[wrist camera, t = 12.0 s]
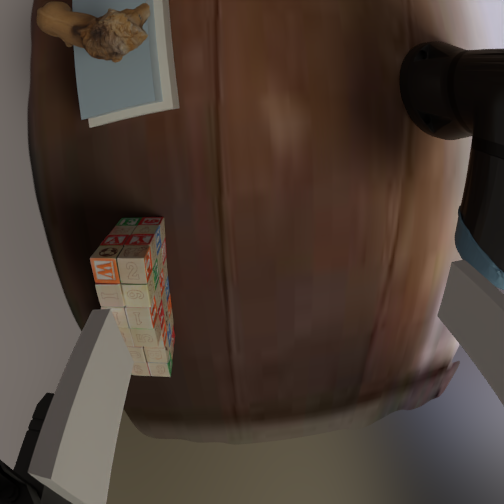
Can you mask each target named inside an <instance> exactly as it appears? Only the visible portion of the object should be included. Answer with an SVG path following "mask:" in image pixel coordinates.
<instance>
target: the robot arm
mask: <svg viewBox="0 0 504 504" xmlns="http://www.w3.org/2000/svg"><path fill="white" fill-rule="evenodd" d="M400 90H401V95H402V99H403V102H404V105H405V108H406V110H407V112H408V114H409V115H410V117H411V119H412V120H413V121H414V123H415V124H416V125H417V126H418V127H419V128H420V129H421V130H423V131H424V132H425V133H427V134H429V135H431V136H434V137H437V138H441V139H445V140H456V139H460V138H465V137H469V136H472V145H471V151H470V158H469V165H468V171H467V177H466V183H465V188H464V193H463V198H462V203H461V206H459V209H458V222H457V227H456V232H455V245H456V248H457V250H458V252H459V254H460V256H461V258H462V259H463V260H460V261H455V262H452V263H451V267H450V272H449V276H448V280H447V284H446V288H445V291H444V295H443V299H442V302H441V306H440V309H439V312H438V317H439V318H440V320H441V321H442V322H443V323H444V325H445V326H446V327H447V328H448V330H449V331H450V332H451V333H452V335H453V336H454V337H455V338H456V340H457V341H458V342H459V344H460V345H461V346H462V347H463V349H464V350H465V351H466V353H467V354H468V355H469V357H470V358H471V359H472V361H473V362H474V363H475V364H476V366H477V368H478V369H479V370H480V372H481V373H482V375H483V376H484V377H485V379H486V380H487V382H488V383H489V384H490V386H491V387H492V389H493V390H494V392H495V393H496V395H497V396H498V398H499V399H500V401H501V402H502V404H503V405H504V294H503V293H502V292H501V291H499V290H498V289H497V288H500V289H502V290H504V49H481V50H464V49H462V48H459V47H456V46H453V45H450V44H447V43H444V42H427V43H422V44H419V45H417V46H415V47H414V48H413V49H411V50H410V51H409V53H408V54H407V55H406V57H405V59H404V61H403V63H402V67H401V72H400ZM496 287H497V288H496ZM133 364H134V361H133V359H132V357H131V355H130V353H129V350H128V348H127V346H126V344H125V342H124V339H123V337H122V335H121V333H120V330H119V328H118V326H117V323H116V321H115V318H114V316H113V314H112V311H111V309H99V310H92V312H91V314H90V316H89V318H88V320H87V322H86V324H85V326H84V328H83V330H82V332H81V334H80V337H79V339H78V341H77V343H76V345H75V347H74V350H73V352H72V354H71V356H70V359H69V361H68V363H67V365H66V368H65V370H64V372H63V374H62V377H61V379H60V382H59V384H58V386H57V389H56V391H55V394H53V393H46V395H45V396H44V397H43V398H42V399H41V401H40V402H39V403H38V404H37V406H36V409H35V412H34V414H33V417H32V418H33V420H31V422H30V424H29V427H28V428H29V430H28V431H27V432H26V435H25V438H24V441H23V444H22V447H21V450H20V453H19V456H18V459H17V462H16V465H15V467H14V470H12V469H11V468H10V467H8V466H7V465H6V464H5V463H3V462H2V461H1V460H0V504H106V501H107V494H108V487H109V481H110V474H111V468H112V462H113V456H114V451H115V446H116V440H117V435H118V430H119V425H120V420H121V416H122V411H123V407H124V402H125V398H126V393H127V389H128V385H129V381H130V376H131V372H132V368H133Z"/></svg>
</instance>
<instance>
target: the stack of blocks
mask: <svg viewBox="0 0 504 504" xmlns="http://www.w3.org/2000/svg"><path fill="white" fill-rule="evenodd" d="M90 262H91V266H92V271H93V276H94V280H95V283H96V284H95V288H96V292H97V295H98V299H99V302H100V305H101V309H111V311H112V314H113V316H114V318H115V321H116V323H117V326H118V328H119V330H120V333H121V335H122V337H123V339H124V342H125V344H126V346H127V348H128V350H129V353H130V355H131V357H132V359H133V361H134V364H133V368H132V372H131V374H132V375H141V376H164V377H170V376H171V370H172V357H173V347H174V340H175V334H174V327H173V315H172V307H171V298H170V293H169V283H168V276H167V263H166V244H165V226H164V217H143V218H121V220H120V221H119V222H118V223H117V224H116V226H115V227H114V229H113V230H112V231H111V232H110V233H109V235H108V236H106V238H105V239H104V240H103V241H102V243H101V244H100V246H99V247H98V249H97V250H96V251H95V252H94V254H93V255H92V256H91V257H90Z"/></svg>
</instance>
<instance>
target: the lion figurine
mask: <svg viewBox="0 0 504 504" xmlns="http://www.w3.org/2000/svg"><path fill="white" fill-rule="evenodd" d="M37 15H38V16H37V25H38V26H39V28H40V29H41V30H42V31H43V32H45V33H47V34H49V35H51V36H54V37H59V38H61V39H62V40H63V41H64V42H65V44H66V46H67V47H71V46H73V45H75V46H77V47H80V48H84V49H85V50H86V51H87V53H88V54H89V55H90V56H91V57H93V58H96V59H103V60H107V61H108V60H112V61H113V62H115V63H116V62H119V61H121V60H122V58H123V56H124V55H126V54H128V53H129V52H130V51H133V50H134V49H136V48H138V46H140V45H141V44H142V43H143V41H144V40H146V38H147V37H148V34H147V33H146V31H145V30H144V29H143V28H142V27H143V24H144V23H145V22H146V21H147V19H148V17H149V16H150V7H149V5H148V4H147V3H142V4H141V5H139V6H137V7H136V8H135V9H124V10H122V11H117V10H114V9H111V8H109V9H108V12H107V13H106V14H105V15H103V16H101V17H98V18H97V17H95V16H92V15H90V14H86V13H80V12H72V10H71V8H70V7H69V5H68V4H66V3H64V2H58V1H52V2H48V3H46V4H45V6H44V7H41V8H39V9H38V10H37Z"/></svg>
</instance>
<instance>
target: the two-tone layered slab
mask: <svg viewBox="0 0 504 504" xmlns="http://www.w3.org/2000/svg"><path fill="white" fill-rule="evenodd" d="M142 3H147V4H148V5H149V7H150V16H149V17H148V19H147V21H146V22H145V23H144V24H143V27H142V28H143V29H144V30H145V31H146V33H147V34H148V37H147V38H146V40H144V41H143V43H142V44H141V45H140V46H138V48H136V49H134V50H133V51H130V52H129V53H128V54H126V55H124V56H123V58H122V60H121V61H119V62H116V63H115V62H113V61H112V60H108V61H107V60H103V59H96V58H93V57H91V56H90V55H89V54H88V53H87V51H86V50H85V49H84V48H80V47H77V46H75V45H74V59H75V71H76V81H77V90H78V98H79V106H80V113H81V119H82V120H83V119H88V120H89V126H90V128H91V127H95V126H100V125H104V124H108V123H112V122H116V121H120V120H124V119H128V118H133V117H137V116H142V115H146V114H151V113H156V112H161V111H166V110H172V109H177V108H180V107H179V100H178V91H177V83H176V74H175V65H174V56H173V46H172V36H171V25H170V13H169V0H73V1H72V12H80V13H86V14H90V15H92V16H95V17H97V18H98V17H101V16H103V15H105V14H106V13H107V12H108V9H109V8H111V9H114V10H117V11H122V10H124V9H135V8H136V7H137V6H139V5H141V4H142Z"/></svg>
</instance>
